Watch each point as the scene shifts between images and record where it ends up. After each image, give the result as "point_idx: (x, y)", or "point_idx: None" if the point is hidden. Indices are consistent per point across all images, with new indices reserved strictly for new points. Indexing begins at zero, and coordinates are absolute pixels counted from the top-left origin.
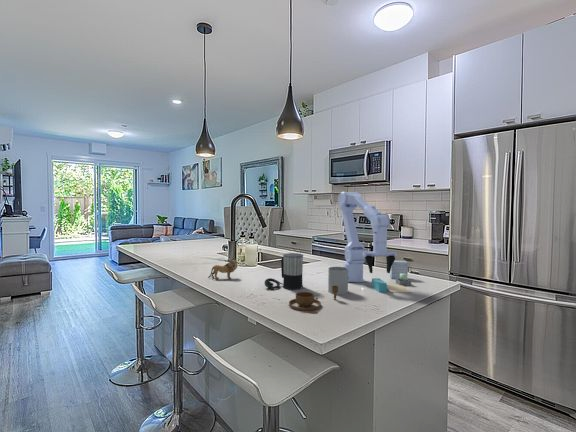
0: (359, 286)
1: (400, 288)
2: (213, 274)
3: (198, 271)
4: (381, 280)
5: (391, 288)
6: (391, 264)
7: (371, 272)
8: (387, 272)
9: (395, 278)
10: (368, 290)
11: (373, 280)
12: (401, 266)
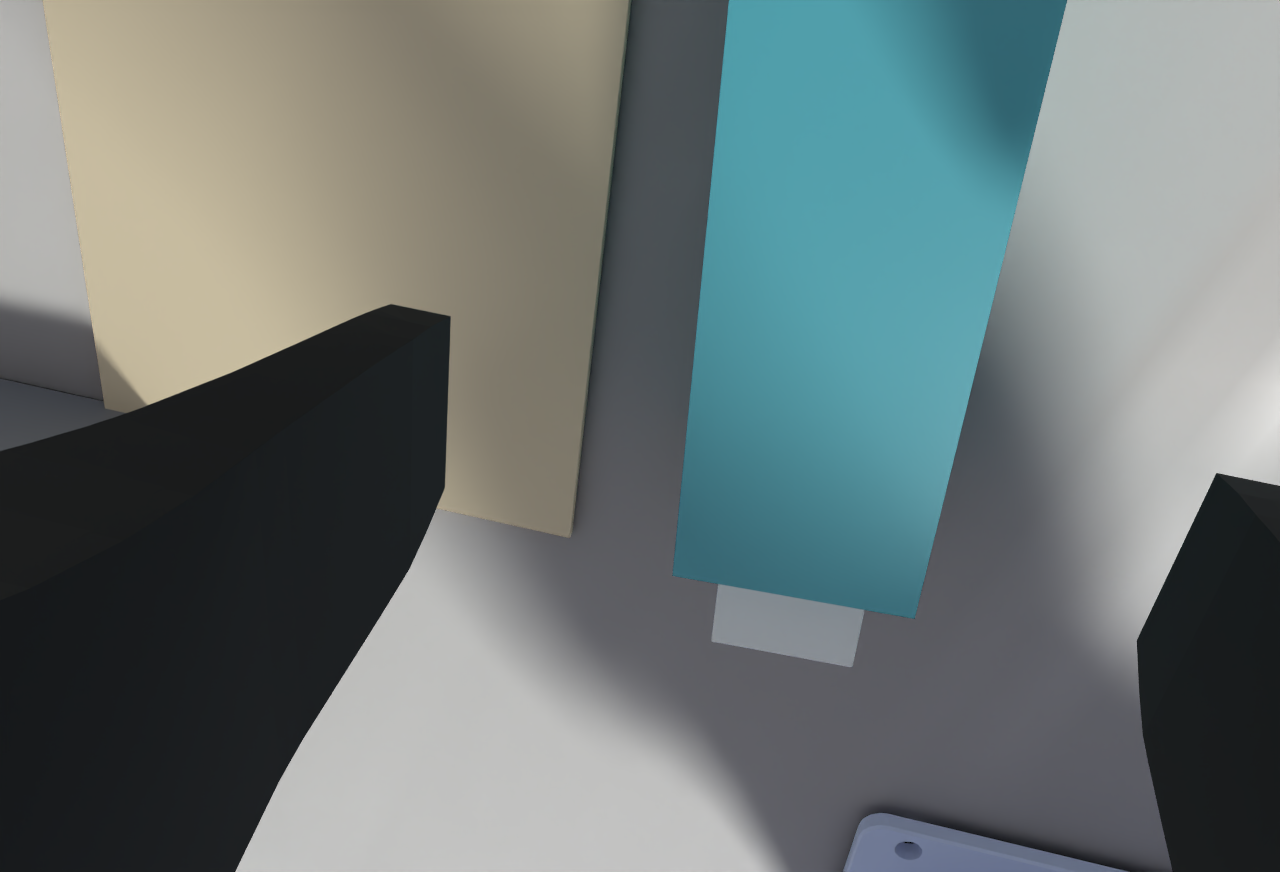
0: None
1: (227, 121)
2: None
3: None
4: (736, 330)
5: (475, 166)
6: (73, 454)
7: (1275, 497)
8: (443, 412)
9: None
10: (1271, 138)
11: (941, 486)
12: None
